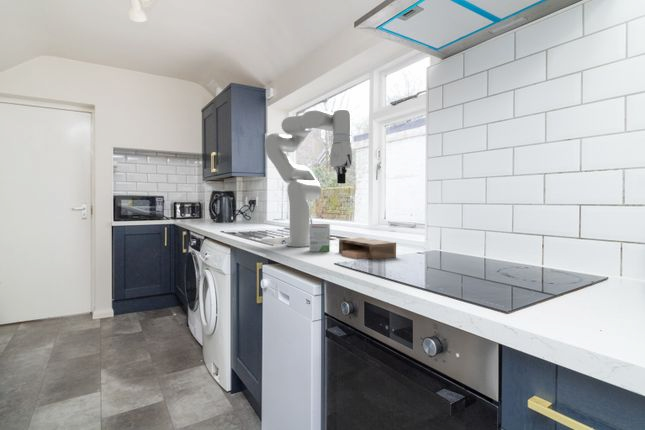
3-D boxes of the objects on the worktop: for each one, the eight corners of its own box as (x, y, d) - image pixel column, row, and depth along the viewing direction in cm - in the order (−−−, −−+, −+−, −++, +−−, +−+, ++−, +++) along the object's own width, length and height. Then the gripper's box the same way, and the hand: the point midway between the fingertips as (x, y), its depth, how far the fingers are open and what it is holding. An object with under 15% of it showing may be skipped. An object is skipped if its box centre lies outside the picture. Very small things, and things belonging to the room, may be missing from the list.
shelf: (338, 252, 146) (339, 238, 145) (359, 250, 152) (360, 237, 152) (373, 259, 127) (373, 244, 127) (395, 257, 133) (396, 242, 133)
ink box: (309, 251, 148) (309, 223, 147) (310, 249, 153) (310, 223, 153) (329, 251, 147) (329, 224, 147) (330, 250, 152) (330, 223, 152)
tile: (341, 256, 137) (341, 250, 137) (369, 254, 145) (369, 248, 145) (356, 260, 129) (356, 253, 129) (383, 256, 137) (384, 250, 137)
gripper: (324, 141, 151) (324, 183, 152) (344, 136, 139) (344, 182, 139) (338, 143, 155) (338, 184, 156) (359, 138, 143) (359, 183, 143)
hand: (341, 183), depth 148 cm, fingers closed
